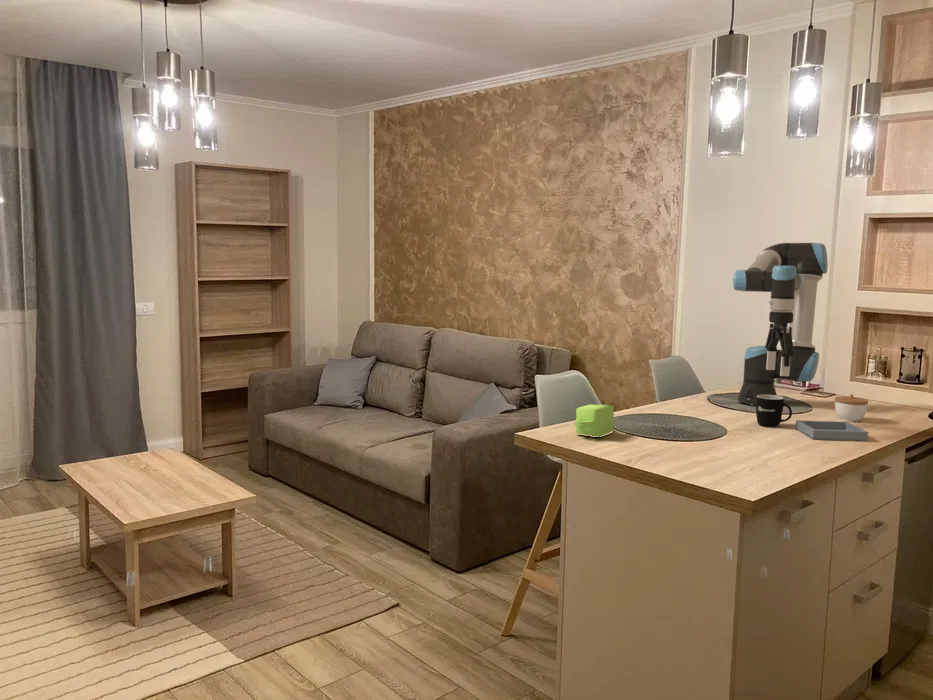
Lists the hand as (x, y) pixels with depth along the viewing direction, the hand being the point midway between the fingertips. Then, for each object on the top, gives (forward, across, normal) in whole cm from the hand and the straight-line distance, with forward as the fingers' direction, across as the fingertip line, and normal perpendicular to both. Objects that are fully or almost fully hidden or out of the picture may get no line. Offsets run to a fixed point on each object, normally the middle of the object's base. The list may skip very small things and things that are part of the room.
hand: (777, 372), depth 257 cm
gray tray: (+19, +11, +15) cm, 26 cm away
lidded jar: (+19, -14, +32) cm, 39 cm away
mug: (+19, 0, 0) cm, 19 cm away
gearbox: (+19, +19, -64) cm, 70 cm away
